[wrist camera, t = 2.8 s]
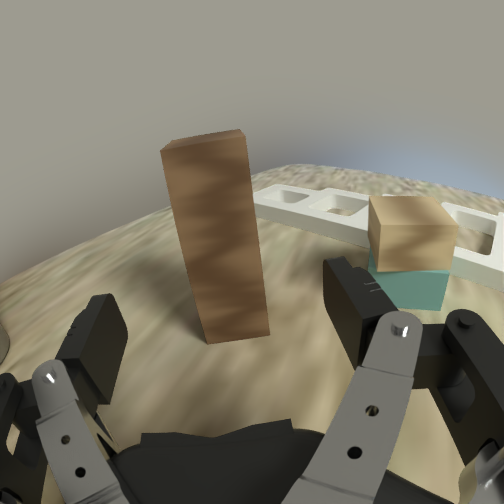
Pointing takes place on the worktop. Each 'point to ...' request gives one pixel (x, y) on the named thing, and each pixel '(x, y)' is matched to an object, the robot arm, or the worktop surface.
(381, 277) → the tower base
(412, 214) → the tower mid
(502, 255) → the holder
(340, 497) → the robot arm
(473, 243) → the worktop surface
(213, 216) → the walnut column
